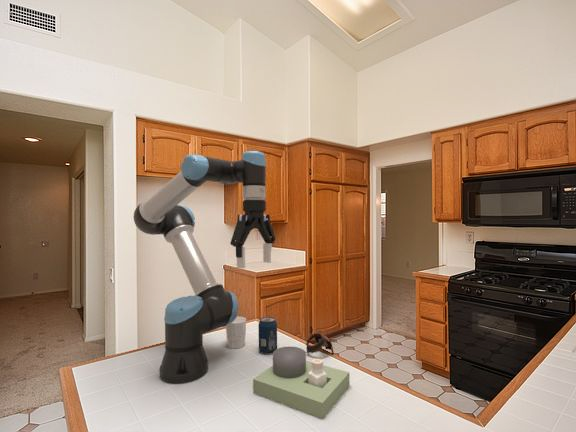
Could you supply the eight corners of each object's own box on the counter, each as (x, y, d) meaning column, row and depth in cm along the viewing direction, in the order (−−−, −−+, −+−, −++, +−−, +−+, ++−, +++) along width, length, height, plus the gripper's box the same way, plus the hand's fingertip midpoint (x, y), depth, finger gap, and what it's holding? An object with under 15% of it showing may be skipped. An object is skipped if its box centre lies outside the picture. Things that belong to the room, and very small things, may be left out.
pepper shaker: (317, 400, 86) (317, 365, 86) (307, 394, 89) (307, 360, 89) (327, 395, 89) (327, 361, 89) (317, 389, 92) (317, 356, 92)
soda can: (264, 346, 123) (264, 315, 123) (280, 349, 120) (280, 317, 120) (255, 352, 116) (254, 320, 117) (271, 356, 113) (271, 323, 113)
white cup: (250, 343, 125) (250, 318, 125) (237, 350, 118) (236, 324, 118) (235, 339, 129) (235, 315, 129) (221, 346, 123) (221, 320, 123)
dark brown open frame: (337, 359, 112) (327, 341, 110) (313, 369, 113) (303, 352, 111) (332, 338, 123) (323, 321, 122) (311, 347, 125) (301, 331, 123)
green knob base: (253, 393, 90) (252, 361, 90) (287, 367, 105) (286, 340, 105) (322, 419, 78) (322, 382, 78) (349, 385, 93) (349, 355, 93)
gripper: (237, 197, 90) (237, 271, 90) (284, 200, 111) (285, 261, 111) (218, 198, 94) (218, 269, 94) (267, 201, 115) (268, 259, 115)
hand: (254, 265), depth 102 cm, fingers open, 13 cm apart
